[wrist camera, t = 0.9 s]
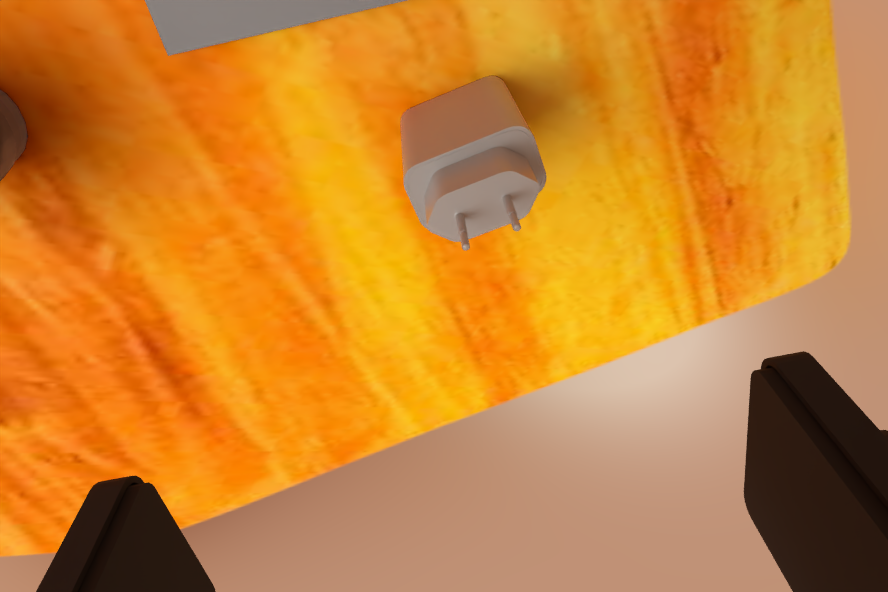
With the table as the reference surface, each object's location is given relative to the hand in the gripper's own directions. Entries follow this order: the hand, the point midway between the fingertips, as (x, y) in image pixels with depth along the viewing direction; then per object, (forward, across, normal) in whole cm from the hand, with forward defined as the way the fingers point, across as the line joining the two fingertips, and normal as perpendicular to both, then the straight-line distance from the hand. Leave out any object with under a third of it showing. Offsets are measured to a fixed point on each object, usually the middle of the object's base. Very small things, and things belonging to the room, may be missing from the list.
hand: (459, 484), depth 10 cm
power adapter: (+25, -2, +2) cm, 25 cm away
